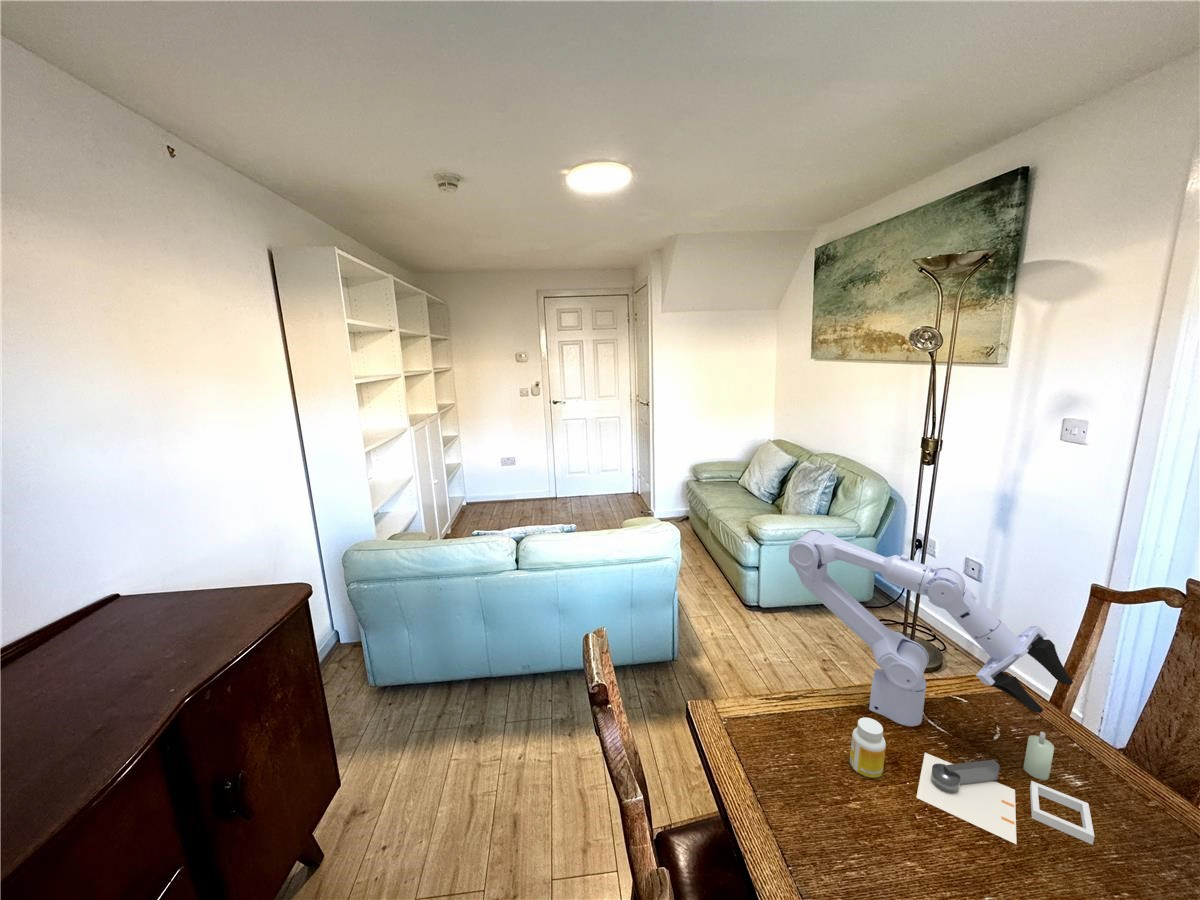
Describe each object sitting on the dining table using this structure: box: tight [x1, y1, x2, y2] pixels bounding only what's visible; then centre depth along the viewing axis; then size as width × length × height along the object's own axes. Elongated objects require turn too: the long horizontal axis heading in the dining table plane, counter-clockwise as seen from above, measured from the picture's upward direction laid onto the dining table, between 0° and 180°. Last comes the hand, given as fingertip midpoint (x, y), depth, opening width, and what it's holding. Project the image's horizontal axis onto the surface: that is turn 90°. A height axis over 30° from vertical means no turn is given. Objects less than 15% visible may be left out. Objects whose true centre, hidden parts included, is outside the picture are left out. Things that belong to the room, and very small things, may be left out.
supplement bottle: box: [849, 717, 887, 779], centre depth 88 cm, size 5×5×10 cm
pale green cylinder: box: [1023, 731, 1055, 781], centre depth 86 cm, size 3×3×9 cm
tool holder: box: [1029, 780, 1096, 846], centre depth 79 cm, size 7×7×2 cm
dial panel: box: [915, 752, 1017, 845], centre depth 83 cm, size 13×12×1 cm
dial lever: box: [931, 759, 1001, 793], centre depth 85 cm, size 12×4×3 cm, turn 96°
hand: (1053, 697), depth 84 cm, fingers open, 7 cm apart
